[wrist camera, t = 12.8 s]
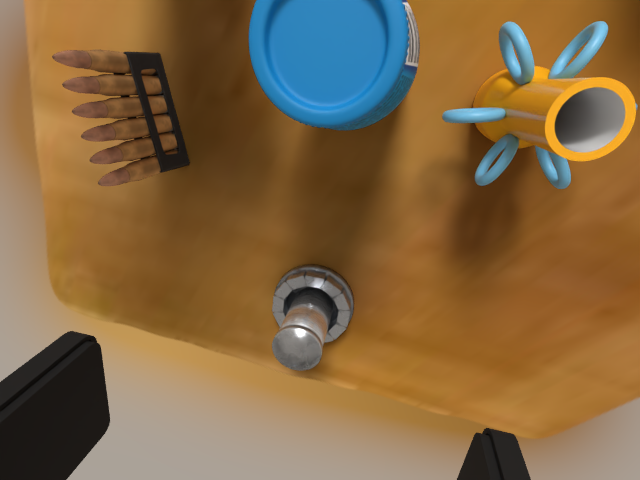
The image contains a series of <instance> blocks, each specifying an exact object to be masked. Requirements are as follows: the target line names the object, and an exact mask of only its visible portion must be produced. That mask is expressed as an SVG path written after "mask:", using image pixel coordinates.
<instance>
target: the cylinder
mask: <svg viewBox="0 0 640 480" xmlns="http://www.w3.org/2000/svg"><path fill="white" fill-rule="evenodd" d="M607 33H608V25H607V24H606V23H605V22H603V21H597V22H594V23H592V24H591V25H589V26H588V27H586V28H585V29H584V30H582V31H581V32H580V33H579V34H578V35H577V36H576V37H575V38H574V39H573V40H572V41H571V42H570V43H569V44H568V46H567V47H566V48H565V49H564V50H563V52H562V53H561V54H560V56H559V57H558V58H557V60H556V62H555V63H554V65H553V67H552V68H551V70H548V69H546V68H543V67H539V66H534V60H533V55H532V52H531V48H530V45H529V43H528V41H527V38H526V36H525V34H524V33H523V31H522V30H521V28H520V27H519V26H518V25H517V24H516V23H514V22H506V23H505V24H503V25H502V27H501V28H500V31H499V44H500V49H501V53H502V57H503V60H504V62H505V65H506V67H507V69H505V70H502V71H500V72H497V73H496V74H494V75H492V76H491V77H490V78H488V79H487V80H486V81H485V82H484V83H483V85H482V86H481V87H480V89H479V90H478V92H477V94H476V96H475V99H474V102H473V108H466V109H454V110H448V111H445V112H444V113H443V116H442V118H443V120H444V121H445V122H449V123H475V125H476V127H477V129H478V130H479V131H480V132H481V133H482V134H483V135H484V136H485V137H487V138H488V139H490V140H492V141H493V142H495V144H494V145H493V146H492V147H491V148H490V150H489V151H488V152H487V153H486V155H485V156H484V158H483V159H482V161H481V162H480V164H479V166H478V168H477V170H476V173H475V182H476V183H477V184H478V185H480V186H484V185H487V184H489V183H491V182H493V181H494V180H495V179H496V178H497V177H498V176H499V175H500V174H501V173H502V172H503V171H504V170H505V169H506V167H507V166H508V165H509V163H510V162H511V160H512V159H513V157H514V155H515V154H516V151H517V149H518V148H525V147H529V146H532V145H535V149H536V154H537V158H538V160H539V163H540V166H541V168H542V170H543V172H544V174H545V175H546V177H547V179H548V180H549V181H550V183H551V184H552V185H553V186H554V187H556V188H558V189H564V188H566V187H568V186H569V184H570V181H571V173H570V168H569V165H568V162H567V159H568V160H573V161H589V160H593V159H597V158H600V157H602V156H604V155H606V154H608V153H610V152H611V151H613V150H614V149H615V148H617V147H618V146H619V145H620V144H621V143H622V142H623V141H624V140H625V138H626V137H627V136H628V134H629V132H630V131H631V129H632V126H633V124H634V121H635V116H636V110H637V104H636V103H635V100H634V97H633V95H632V93H631V92H630V90H629V89H628V88H627V87H626V86H625V85H624V84H622V83H621V82H619V81H617V80H614V79H611V78H605V77H594V78H573V77H574V76H576V75H577V74H578V73H579V72H580V71H581V70H582V69H583V68H584V67H585V66H586V65H587V64H588V63H589V61H590V60H591V59H592V58H593V57H594V55H595V54H596V53H597V51H598V50H599V48H600V47H601V45H602V44H603V42H604V40H605V38H606V36H607ZM588 40H589V41H588ZM587 41H588V43H587V44H586V46H585V47H584V48H583V50H582V51H581V52H580V54H579V55H578V56H577V57H576V58H575V59H574V60H573V61H572V63H571V64H570V65H569V66H567V67H566V65H567V64H568V62H569V61H570V60H571V58H572V57H573V56H574V55H575V54H576V52H577V51H578V50H579V49H580V48H581V47H582V46H583V45H584V44H585V43H586V42H587ZM512 44H513V46H514V48H515V50H516V53H517V55H518V59H519V62H520V65H519V63H518V60H517V58H516V56H515V53H514V49H513V46H512ZM565 67H566V68H565ZM504 148H505V150H504V151H503V153H502V155H501V156H500V158H499V159H498V161H497V162H496V163H495V164H494V166H493V167H492V168H491V169H490V170H489V171H488V169H489V167H490V165H491V164H492V162H493V161H494V159H495V158H496V157H497V156H498V155H499V153H500V152H501V151H502V150H503V149H504ZM549 155H550V156H549ZM550 157H551V159H552V161H553V163H554V166H555V167H554V166H553V164H552V161H551V159H550ZM555 168H556V169H555ZM487 171H488V172H487Z"/></svg>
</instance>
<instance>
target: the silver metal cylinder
mask: <svg viewBox="0 0 640 480" xmlns="http://www.w3.org/2000/svg"><path fill="white" fill-rule="evenodd" d="M332 312H333V301H332V299H331V297H330V296H329V295H328V294H327V293H326V292H325V291H323V290H322V289H320V288H315V287H306V288H303V289H301V290H300V291H299V292H298V293H297V294H296V296H295V298H294V300H293V302H292V304H291V306H290V308H289V310H288V312H287V315H286V317H285V319H284V321H283V323H282V325H281V327H280V329H279V331H278V332H277V334H276V335H275V337H274V340H273V343H272V349H273V353H274V355H275V357H276V358H277V360H278V361H279V362H280V363H281V364H283V365H284V366H286V367H288V368H290V369H293V370H300V371H301V370H308V369H311V368H313V367H315V366H316V365H317V364H318V363H319V361H320V359H321V356H322V352H323V344H324V341H325V337H326V334H327V330H328V326H329V323H330V319H331V315H332Z"/></svg>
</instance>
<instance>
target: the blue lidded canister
mask: <svg viewBox="0 0 640 480" xmlns="http://www.w3.org/2000/svg"><path fill="white" fill-rule="evenodd" d="M249 51H250V58H251V62H252V66H253V70H254V72H255V75H256V78H257V80H258V82H259V84H260V86H261V88H262V89H263V91H264V92H265V94H266V95H267V97H268V98H269V99H270V100H271V102H272V103H273V104H274V105H275V106H276V107H277V108H278V109H279V110H281V111H282V112H283V113H285V114H286V115H287V116H289V117H291V118H292V119H294V120H296V121H299V122H300V123H304V124H305V125H311V126H312V127H315V126H316V127H318V128H320V127H324V128H329V129H333V130H355V129H360V128H364V127H367V126H369V125H372V124H374V123H376V122H378V121H380V120H381V119H383V118H384V117H386V116H387V115H388V114H390V113H391V112H392V111H393V110H394V109H395V108H396V107H397V106H398V105H399V104H400V103H401V102H402V100H403V99H404V98H405V96H406V95H407V93H408V91H409V89H410V88H411V85H412V83H413V81H414V78H415V75H416V72H417V67H418V61H419V51H420V42H419V33H418V27H417V23H416V20H415V17H414V14H413V12H412V10H411V8H410V6H409V4H408V2H407V1H406V0H256V3H255V5H254V8H253V12H252V16H251V20H250V27H249Z"/></svg>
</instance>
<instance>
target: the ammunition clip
mask: <svg viewBox="0 0 640 480" xmlns="http://www.w3.org/2000/svg"><path fill="white" fill-rule="evenodd" d="M52 58H53V59H54V60H55V61H57V62H59V63H61V64H64V65H67V66H70V67H75V68H84V69H91V70H95V71H98V72H108V73H114V75H112V74H103V75H99V76H90V77H77V78H73V79H70V80H67V81H65V82H64V83H63V84H62V85H63V87H64V88H66V89H68V90H71V91H74V92H78V93H90V94H92V93H93V94H102V95H106V96H121V97H120V98H110V99H107V100H103V101H97V102H89V103H85V104H82V105H80V106H77V107H76V108H74V109H73V110H72V113H73V114H75V115H78V116H81V117H86V118H114V119H120V118H128V119H123V120H118V121H115V122H113V123H110V124H106V125H101V126H97V127H94V128H91V129H89V130H87V131H85V132H84V133H83V134H82V135H81V138H83V139H85V140H88V141H109V140H128V139H133V138H134V140H130V141H126V142H123V143H121V144H119V145H117V146H114V147H111V148H107V149H105V150H102V151H100V152H98V153H96V154H95V155H93V156H92V157H91V158H90V162H92V163H95V164H111V163H115V162H121V161H133V160H136V159H141V160H138V161H134V162H131V163H129V164H127V165H126V166H125V167H122V168H119V169H117V170H114V171H112V172H110V173H108V174H106V175H105V176H103V177H102V178H101V179H100V180H99V182H98V184H99V185H101V186H115V185H120V184H123V183H127V182H131V181H139V180H142V179H144V178H147V177H150V176H153V175H155V174H158V173H161V172H165V171H169V170H173V169H176V168H180V167H183V166H187V165H189V163H190V162H189V158H188V154H187V151H186V147H185V143H184V140H183V136H182V132H181V129H180V125H179V121H178V118H177V114H176V110H175V107H174V103H173V99H172V96H171V92H170V88H169V85H168V81H167V77H166V74H165V70H164V66H163V63H162V59H161V55H160V54H159V53H146V52H115V51H106V50H91V51H77V50H70V51H62V52H58V53H56V54H54V55H53V56H52ZM126 73H127V74H132V75H125V74H126ZM129 95H138V97H130V96H129ZM138 116H145V117H138ZM136 117H138V118H136ZM149 135H150V136H149ZM144 136H149V137H144ZM142 137H144V138H142ZM154 154H156V155H154ZM151 155H154V156H151ZM150 156H151V157H150Z"/></svg>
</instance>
